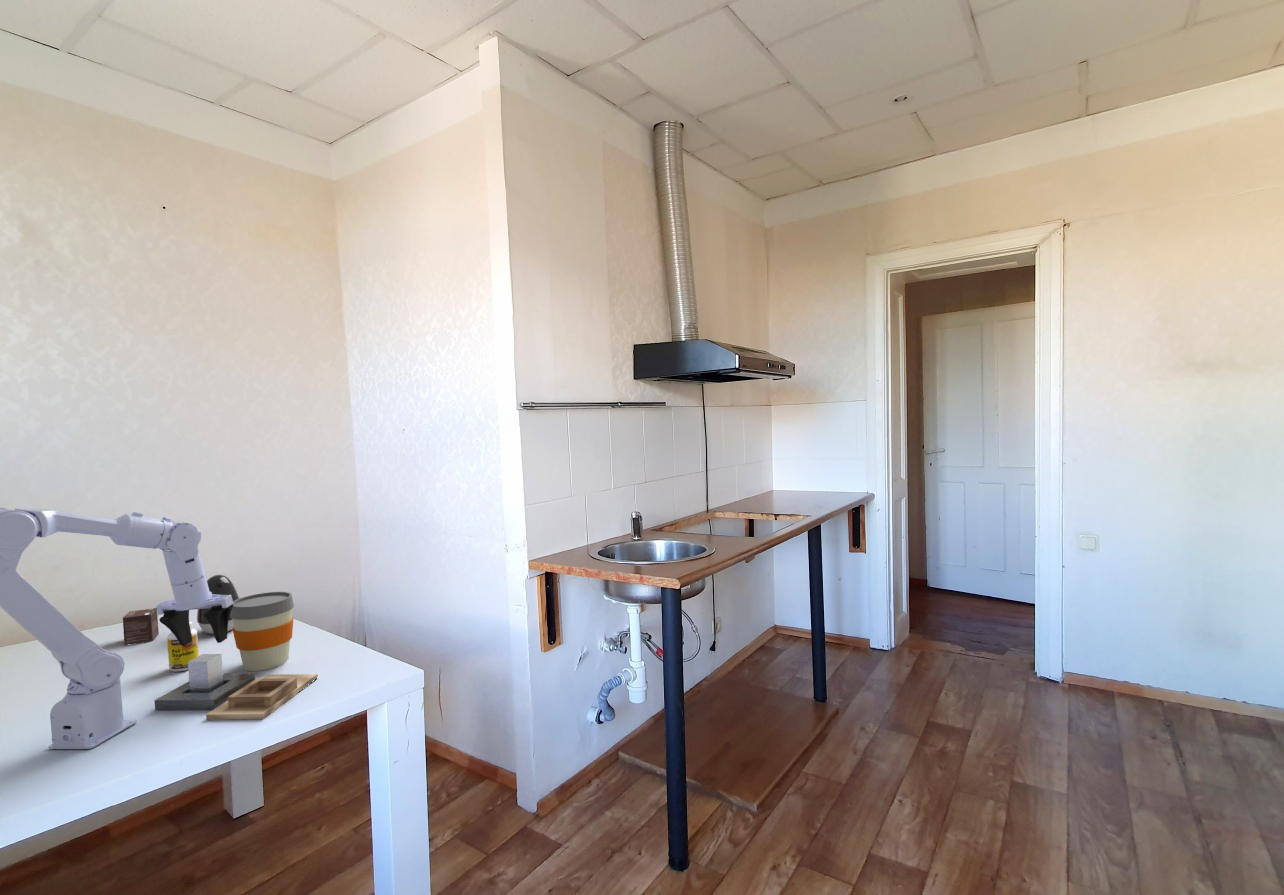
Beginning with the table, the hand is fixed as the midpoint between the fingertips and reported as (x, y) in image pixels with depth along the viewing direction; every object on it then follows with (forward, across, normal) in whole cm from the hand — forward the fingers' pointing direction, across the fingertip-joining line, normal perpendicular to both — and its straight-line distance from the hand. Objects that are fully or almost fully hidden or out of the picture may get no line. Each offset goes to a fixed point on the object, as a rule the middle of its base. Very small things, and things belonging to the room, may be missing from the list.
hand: (204, 642), depth 128 cm
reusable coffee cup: (+13, -1, -14) cm, 20 cm away
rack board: (+12, -13, +4) cm, 17 cm away
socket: (+11, 0, +2) cm, 11 cm away
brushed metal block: (+11, 0, +2) cm, 11 cm away
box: (+12, +44, -32) cm, 56 cm away
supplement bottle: (+12, +17, -13) cm, 24 cm away
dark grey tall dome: (+14, +27, -37) cm, 48 cm away
